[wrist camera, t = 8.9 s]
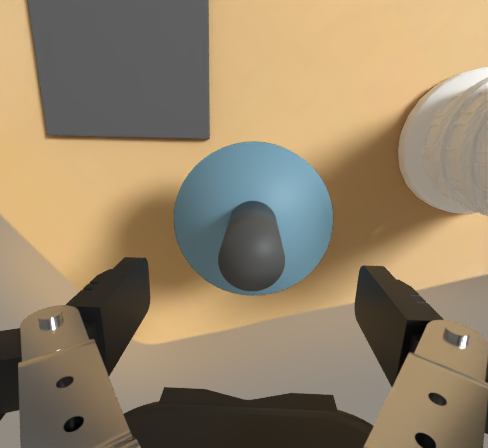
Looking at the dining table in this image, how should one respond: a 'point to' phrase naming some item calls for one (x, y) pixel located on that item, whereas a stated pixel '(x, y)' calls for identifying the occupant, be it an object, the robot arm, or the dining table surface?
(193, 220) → the lid
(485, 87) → the decorative container
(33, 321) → the robot arm
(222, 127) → the dining table surface
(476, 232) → the dining table surface
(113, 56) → the mat
